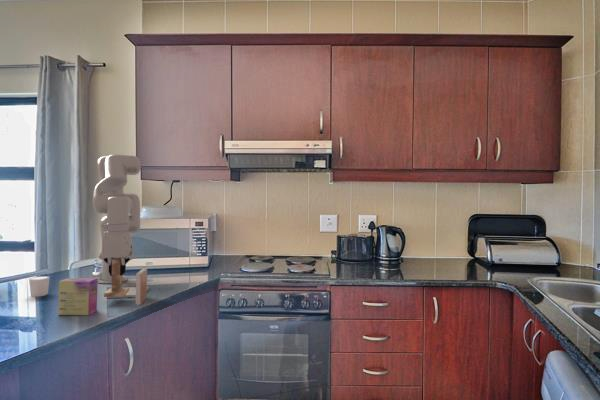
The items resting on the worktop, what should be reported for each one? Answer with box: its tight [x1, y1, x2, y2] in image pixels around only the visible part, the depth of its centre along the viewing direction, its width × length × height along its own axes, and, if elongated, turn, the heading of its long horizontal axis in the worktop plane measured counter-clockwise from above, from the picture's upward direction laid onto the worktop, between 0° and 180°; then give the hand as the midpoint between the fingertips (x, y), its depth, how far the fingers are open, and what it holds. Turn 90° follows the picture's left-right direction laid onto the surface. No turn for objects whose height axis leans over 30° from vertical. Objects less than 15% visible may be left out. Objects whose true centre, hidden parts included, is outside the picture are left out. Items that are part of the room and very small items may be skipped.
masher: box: [103, 258, 129, 298], centre depth 138 cm, size 7×7×14 cm
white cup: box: [28, 275, 51, 298], centre depth 145 cm, size 7×7×7 cm
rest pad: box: [106, 286, 150, 299], centre depth 150 cm, size 13×13×1 cm
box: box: [57, 277, 99, 316], centre depth 124 cm, size 10×6×12 cm, turn 92°
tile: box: [135, 267, 148, 305], centre depth 139 cm, size 2×10×12 cm, turn 10°
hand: (117, 274), depth 138 cm, fingers closed on masher, 3 cm apart
